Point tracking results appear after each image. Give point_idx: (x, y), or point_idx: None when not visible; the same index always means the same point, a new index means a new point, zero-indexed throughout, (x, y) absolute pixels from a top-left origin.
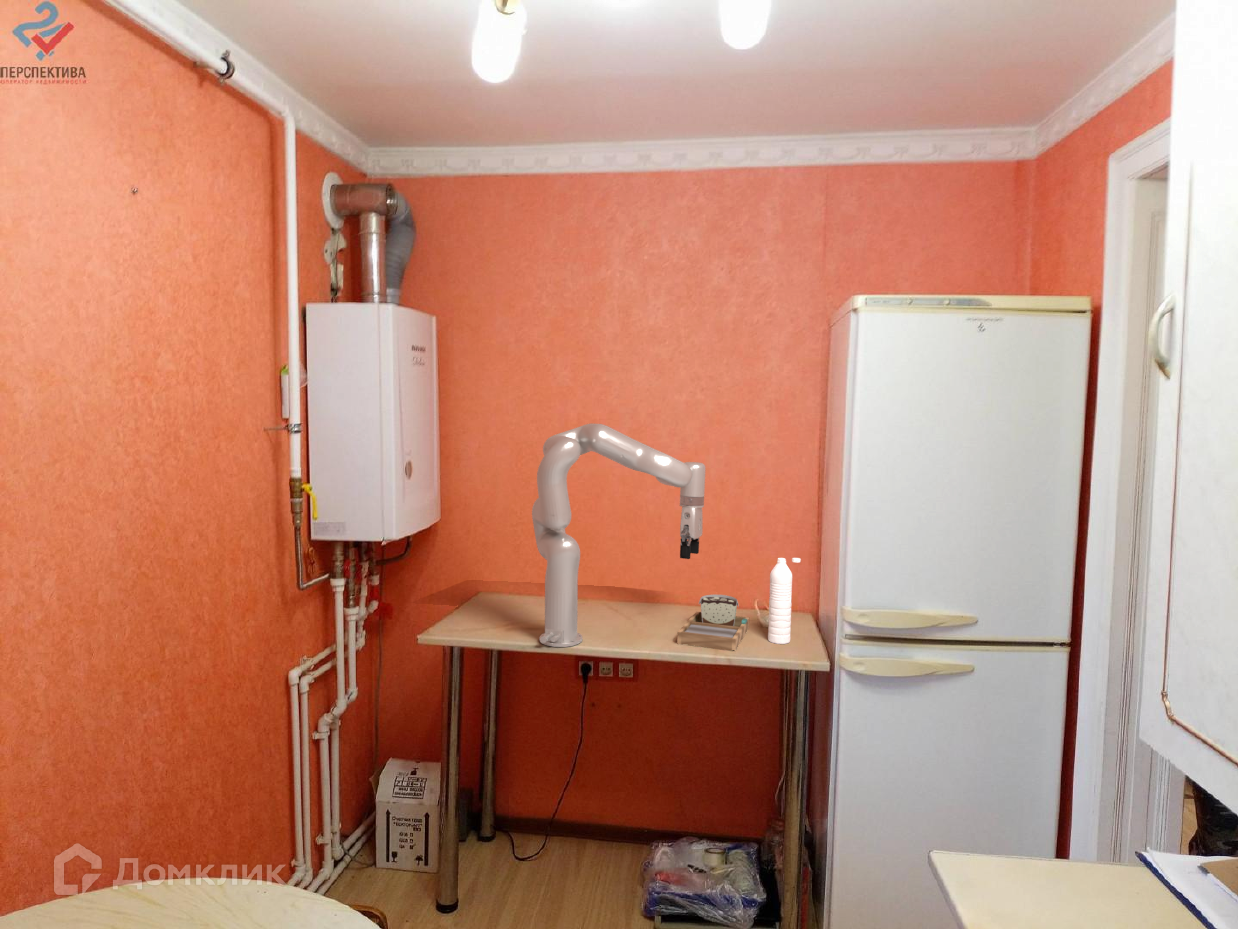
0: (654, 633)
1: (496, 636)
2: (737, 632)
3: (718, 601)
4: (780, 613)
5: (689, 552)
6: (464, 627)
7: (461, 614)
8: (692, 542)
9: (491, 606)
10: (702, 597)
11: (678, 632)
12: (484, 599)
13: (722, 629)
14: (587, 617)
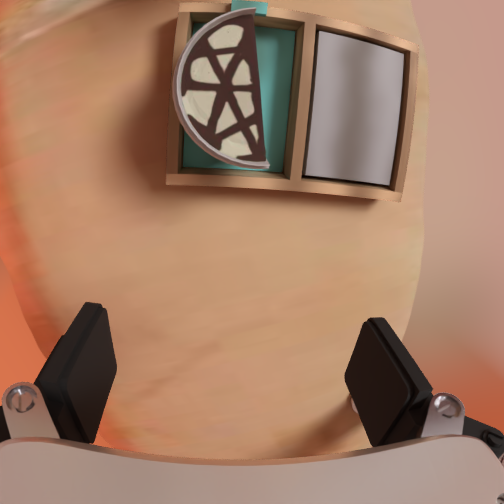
0: (316, 265)
1: (366, 443)
2: (363, 32)
3: (259, 85)
4: None
5: (402, 353)
6: None
7: None
8: (86, 420)
9: None
10: (239, 160)
11: (400, 199)
12: None
13: (331, 73)
14: (237, 408)
